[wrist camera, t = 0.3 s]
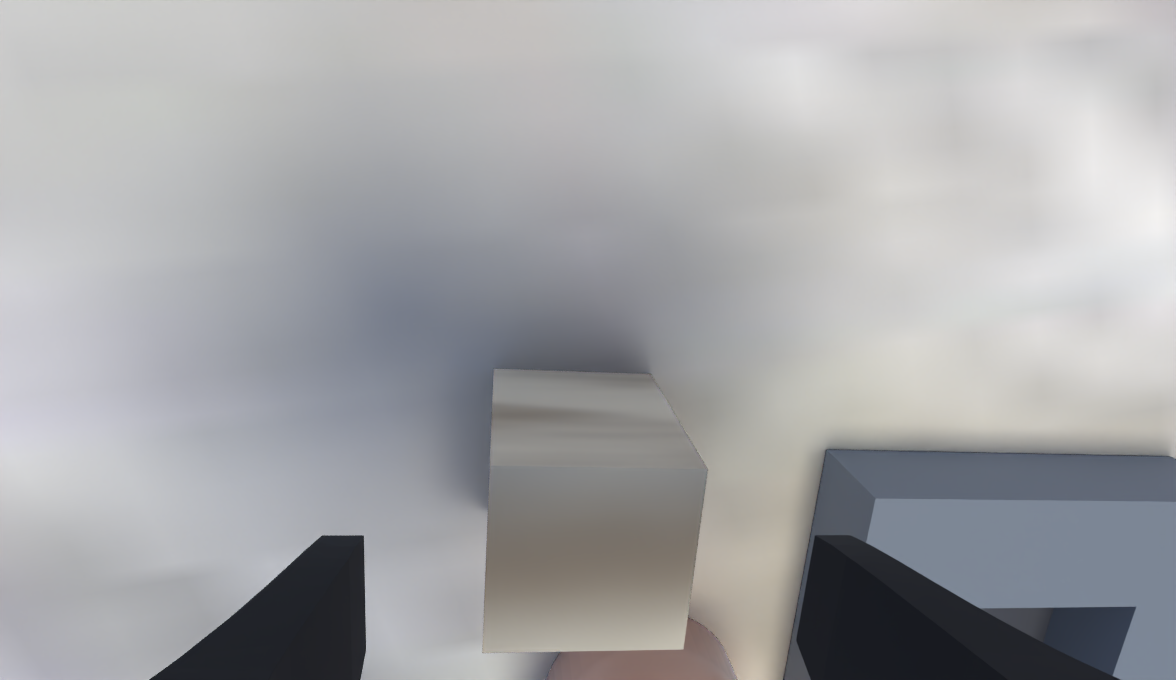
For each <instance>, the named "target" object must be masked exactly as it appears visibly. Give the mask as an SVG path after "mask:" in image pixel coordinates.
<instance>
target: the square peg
mask: <svg viewBox="0 0 1176 680" xmlns="http://www.w3.org/2000/svg"><path fill="white" fill-rule="evenodd" d="M707 471H708V469H707V467H706V465H705V464H704V462H703V460H702V459H701V457H700V455H699V454H698V452H697V450H696V449H695V447H694V445H693V444H692V442H691V440H690V439H689V437H688V435H687V434H686V432H685V430H684V429H683V427H682V425H681V424H680V422H679V420H678V419H677V417H676V415H675V414H674V412H673V410H672V409H671V407H670V405H669V404H668V402H667V400H666V399H665V397H664V395H663V393H662V392H661V390H660V388H659V387H658V385H657V383H656V382H655V380H654V378H653V377H652V375H651V374H639V373H610V372H581V371H551V370H522V369H494V374H493V398H492V423H491V447H490V472H489V497H488V522H487V547H486V573H485V598H484V623H483V648H482V653H519V652H573V651H627V650H681V649H684V641H685V634H686V626H687V619H688V612H689V604H690V597H691V590H692V582H693V575H694V567H695V560H696V553H697V545H698V538H699V530H700V523H701V516H702V508H703V501H704V494H705V486H706V479H707Z"/></svg>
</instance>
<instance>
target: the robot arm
mask: <svg viewBox="0 0 1176 680" xmlns="http://www.w3.org/2000/svg"><path fill="white" fill-rule="evenodd" d="M796 642H797V644H798V647H799V650H800V652H801V655H802V658H803V660H804V663H805V666H806V669H807V671H808V674H809V676H810V679H811V680H1120V679H1118V678H1116V677H1114V676H1112V675H1109V674H1107V673H1105V672H1103V671H1101V670H1099V669H1096V668H1094V667H1092V666H1090V665H1088V664H1086V663H1083V662H1081V661H1079V660H1077V659H1075V658H1073V657H1071V656H1069V655H1067V654H1065V653H1063V652H1060V651H1058V650H1056V649H1054V648H1052V647H1050V646H1048V645H1046V644H1045V643H1043V642H1041V641H1039V640H1037V639H1035V638H1033V637H1031V636H1029V635H1028V634H1026V633H1024V632H1022V631H1020V630H1018V629H1016V628H1014V627H1013V626H1011V625H1009V624H1007V623H1005V622H1003V621H1001V620H1000V619H998V618H996V617H994V616H992V615H991V614H989V613H987V612H985V611H983V610H982V609H980V608H978V607H976V606H975V605H973V604H971V603H969V602H968V601H966V600H964V599H962V598H961V597H959V596H957V595H956V594H954V593H952V592H950V591H949V590H947V589H945V588H944V587H942V586H940V585H939V584H937V583H935V582H933V581H932V580H930V579H928V578H927V577H925V576H923V575H922V574H920V573H918V572H917V571H915V570H913V569H911V568H910V567H908V566H906V565H905V564H903V563H901V562H900V561H898V560H896V559H894V558H893V557H891V556H889V555H887V554H886V553H884V552H882V551H880V550H879V549H877V548H875V547H873V546H871V545H869V544H867V543H865V542H864V541H862V540H859V539H857V538H855V537H853V536H851V535H815V537H814V543H813V548H812V554H811V560H810V565H809V571H808V576H807V582H806V588H805V593H804V599H803V604H802V610H801V616H800V621H799V627H798V632H797V638H796ZM365 652H366V628H365V577H364V536H321V537H320V538H319V539H318V540H317V541H315V542H314V543H313V544H312V545H311V546H310V547H309V548H307V549H306V550H305V551H304V552H303V553H302V554H301V555H300V556H299V557H298V558H296V559H295V560H294V561H293V562H292V563H291V564H290V565H289V566H288V567H287V568H286V569H285V570H283V571H282V572H281V573H280V574H279V575H278V576H277V577H276V578H275V579H274V580H272V581H271V582H270V583H269V584H268V585H267V586H266V587H265V588H264V589H262V590H261V591H260V592H259V593H258V594H257V595H256V596H254V597H253V598H252V599H251V600H250V601H249V602H248V603H246V604H245V605H244V606H243V607H242V608H241V609H240V610H238V611H237V612H236V613H235V614H234V615H233V616H232V617H230V618H229V619H228V620H227V621H225V622H224V623H223V624H222V625H220V626H219V627H218V628H217V629H215V630H214V631H213V632H212V633H210V634H209V635H208V636H206V637H205V638H204V639H203V640H201V641H200V642H199V643H198V644H196V645H195V646H194V647H193V648H191V649H190V650H189V651H188V652H186V653H185V654H184V655H183V656H181V657H180V658H179V659H177V660H176V661H175V662H173V663H172V664H170V665H169V666H168V667H166V668H165V669H164V670H162V671H161V672H159V673H158V674H157V675H155V676H154V677H152V678H151V679H149V680H360V678H361V673H362V668H363V662H364V657H365Z"/></svg>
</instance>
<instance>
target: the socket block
mask: <svg viewBox="0 0 1176 680" xmlns="http://www.w3.org/2000/svg"><path fill="white" fill-rule="evenodd" d="M815 535H851V536H853V537H855V538H857V539H859V540H862V541H864V542H865V543H867V544H869V545H871V546H873V547H875V548H877V549H879V550H880V551H882V552H884V553H886V554H887V555H889V556H891V557H893V558H894V559H896V560H898V561H900V562H901V563H903V564H905V565H906V566H908V567H910V568H911V569H913V570H915V571H917V572H918V573H920V574H922V575H923V576H925V577H927V578H928V579H930V580H932V581H933V582H935V583H937V584H939V585H940V586H942V587H944V588H945V589H947V590H949V591H950V592H952V593H954V594H956V595H957V596H959V597H961V598H962V599H964V600H966V601H968V602H969V603H971V604H973V605H975V606H976V607H978V608H980V609H982V610H983V611H985V612H987V613H989V614H991V615H992V616H994V617H996V618H998V619H1000V620H1001V621H1003V622H1005V623H1007V624H1009V625H1011V626H1013V627H1014V628H1016V629H1018V630H1020V631H1022V632H1024V633H1026V634H1028V635H1029V636H1031V637H1033V638H1035V639H1037V640H1039V641H1041V642H1043V643H1045V644H1046V645H1048V646H1050V647H1052V648H1054V649H1056V650H1058V651H1060V652H1063V653H1065V654H1067V655H1069V656H1071V657H1073V658H1075V659H1077V660H1079V661H1081V662H1083V663H1086V664H1088V665H1090V666H1092V667H1094V668H1096V669H1099V670H1101V671H1103V672H1105V673H1107V674H1109V675H1112V676H1114V677H1116V678H1118V679H1120V680H1176V459H1175V458H1172V457H1164V456H1115V455H1066V454H1017V453H968V452H919V451H870V450H826V456H825V461H824V466H823V472H822V477H821V482H820V488H819V493H818V499H817V504H816V509H815V515H814V520H813V525H812V531H811V536H810V541H809V547H808V552H807V558H806V563H805V568H804V574H803V579H802V584H801V590H800V595H799V600H798V606H797V611H796V617H795V622H794V627H793V633H792V638H791V643H790V649H789V654H788V659H787V665H786V670H785V676H784V680H811V679H810V676H809V674H808V671H807V669H806V666H805V663H804V660H803V658H802V655H801V652H800V650H799V647H798V644H797V642H796V638H797V632H798V627H799V621H800V616H801V610H802V604H803V599H804V593H805V588H806V582H807V576H808V571H809V565H810V560H811V554H812V548H813V543H814V537H815Z"/></svg>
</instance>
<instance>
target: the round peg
mask: <svg viewBox="0 0 1176 680" xmlns="http://www.w3.org/2000/svg"><path fill="white" fill-rule="evenodd" d="M546 680H738V679H737V677H736V675H735V672H734V670H733V668H732V665H731V663H730V661H729V658H728V656H727V654H726V651H725V649H724V648H723V646H722V644H721V643H720V641H719V640H718V639H717V638H716V637H715V636H714V634H713V633H711V632H710V631H709V630H708V629H707V628H705V627H704V626H703V625H701V624H699V623H698V622H696V621H694V620H692V619H690V618H688V619H687V626H686V634H685V641H684V649H681V650H627V651H573V652H560V653H559V655H558V656H557V658H556V660H555V661H554V663H553V665H552V667H551V669H550V671H549V673H548V676H547V679H546Z"/></svg>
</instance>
